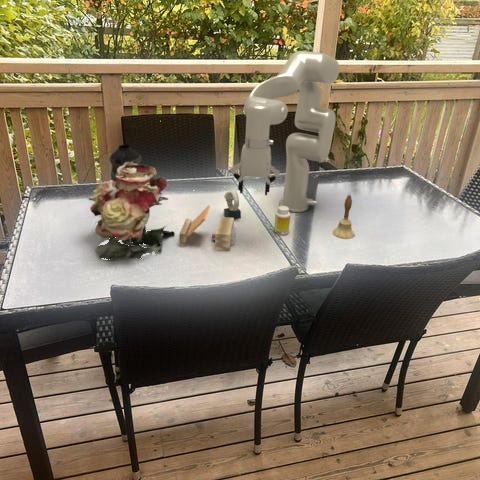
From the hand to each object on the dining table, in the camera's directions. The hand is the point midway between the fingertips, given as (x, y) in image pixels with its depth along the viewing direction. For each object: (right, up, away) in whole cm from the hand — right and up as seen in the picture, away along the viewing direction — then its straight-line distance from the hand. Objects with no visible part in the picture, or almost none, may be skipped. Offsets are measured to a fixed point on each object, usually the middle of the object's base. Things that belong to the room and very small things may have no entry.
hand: (253, 192), depth 155 cm
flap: (-19, -10, +7) cm, 23 cm away
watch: (-8, -7, +29) cm, 30 cm away
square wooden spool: (-17, -16, +11) cm, 26 cm away
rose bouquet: (-43, -18, +5) cm, 47 cm away
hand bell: (+35, -14, +20) cm, 43 cm away
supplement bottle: (+11, -13, +19) cm, 25 cm away
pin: (-11, -17, +10) cm, 22 cm away
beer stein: (-50, -2, +34) cm, 61 cm away
